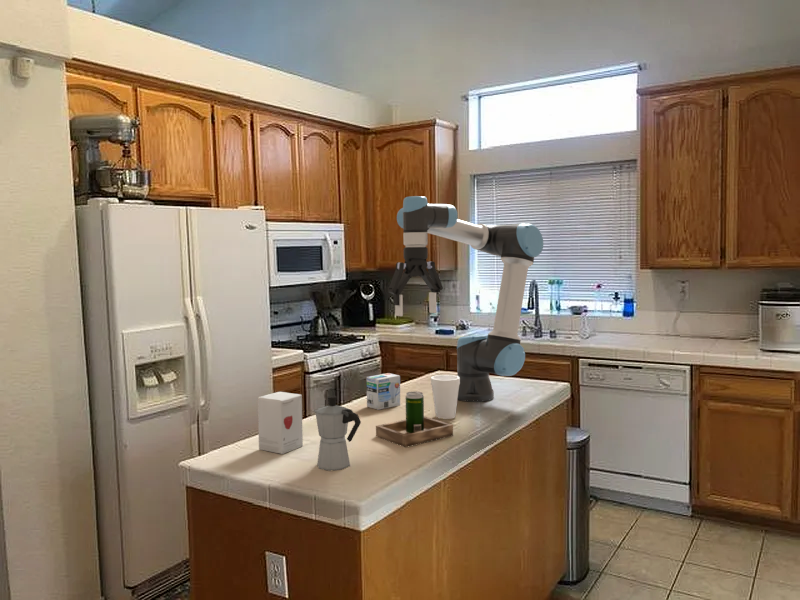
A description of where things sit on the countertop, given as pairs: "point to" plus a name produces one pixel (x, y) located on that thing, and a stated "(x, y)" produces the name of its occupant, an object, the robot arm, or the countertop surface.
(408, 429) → the beer can
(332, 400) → the coffee maker
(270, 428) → the supplement box
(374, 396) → the light bulb box
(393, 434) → the tray
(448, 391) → the foam cup
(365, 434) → the countertop surface
